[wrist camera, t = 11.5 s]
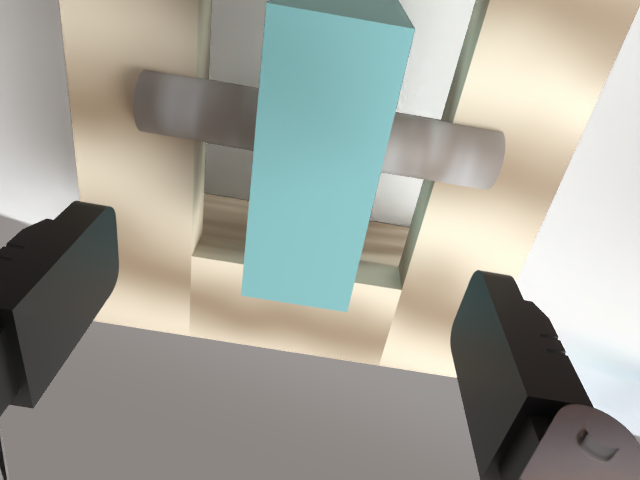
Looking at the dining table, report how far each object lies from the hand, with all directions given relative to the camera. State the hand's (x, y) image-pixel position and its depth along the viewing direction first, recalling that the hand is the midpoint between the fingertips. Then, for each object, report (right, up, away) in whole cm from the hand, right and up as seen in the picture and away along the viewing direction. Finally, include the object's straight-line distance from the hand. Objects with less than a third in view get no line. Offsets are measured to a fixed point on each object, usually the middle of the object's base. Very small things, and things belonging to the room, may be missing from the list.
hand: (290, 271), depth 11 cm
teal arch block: (+1, +9, +15) cm, 18 cm away
